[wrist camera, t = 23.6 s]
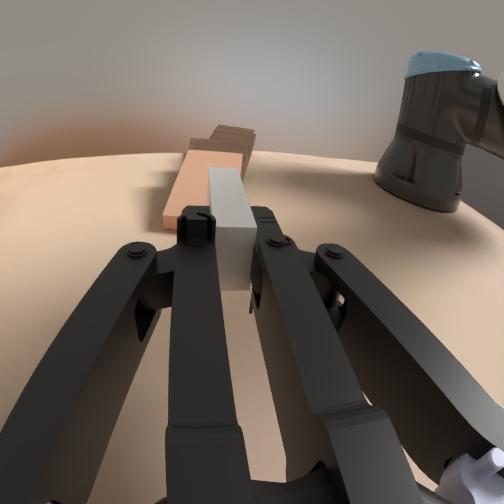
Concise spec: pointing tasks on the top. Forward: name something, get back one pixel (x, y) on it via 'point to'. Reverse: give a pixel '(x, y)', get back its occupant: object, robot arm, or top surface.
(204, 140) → the domino
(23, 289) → the top surface
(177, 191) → the domino
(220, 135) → the domino
